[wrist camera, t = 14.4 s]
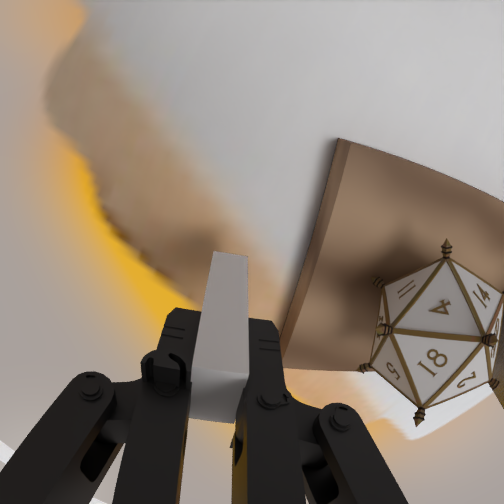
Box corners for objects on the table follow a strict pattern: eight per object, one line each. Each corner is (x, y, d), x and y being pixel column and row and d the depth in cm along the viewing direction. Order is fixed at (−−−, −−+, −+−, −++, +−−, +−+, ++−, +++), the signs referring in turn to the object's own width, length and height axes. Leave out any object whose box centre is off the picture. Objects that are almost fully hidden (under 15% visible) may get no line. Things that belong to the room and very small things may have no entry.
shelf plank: (338, 137, 14) (350, 142, 12) (533, 218, 16) (548, 228, 14) (277, 346, 20) (279, 367, 18) (465, 351, 22) (474, 365, 20)
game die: (376, 238, 18) (453, 181, 9) (469, 292, 17) (569, 278, 7) (316, 363, 17) (353, 421, 8) (418, 407, 16) (500, 463, 6)
